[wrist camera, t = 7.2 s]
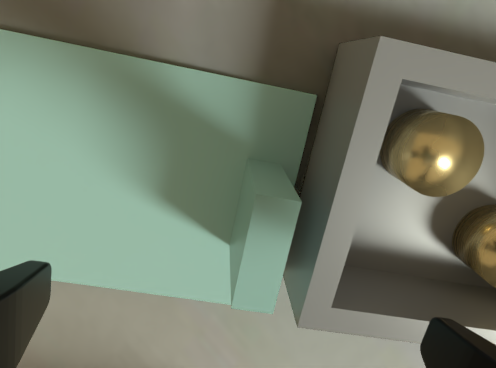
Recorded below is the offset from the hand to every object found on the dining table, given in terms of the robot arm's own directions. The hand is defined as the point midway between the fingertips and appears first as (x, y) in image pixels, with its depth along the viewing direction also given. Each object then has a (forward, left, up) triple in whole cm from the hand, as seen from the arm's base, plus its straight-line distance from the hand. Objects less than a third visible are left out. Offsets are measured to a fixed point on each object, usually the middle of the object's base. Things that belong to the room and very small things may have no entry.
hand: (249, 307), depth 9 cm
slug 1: (+4, -7, -7) cm, 10 cm away
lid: (0, +4, -8) cm, 9 cm away
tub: (+2, -9, -8) cm, 12 cm away
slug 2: (0, -11, -7) cm, 13 cm away
